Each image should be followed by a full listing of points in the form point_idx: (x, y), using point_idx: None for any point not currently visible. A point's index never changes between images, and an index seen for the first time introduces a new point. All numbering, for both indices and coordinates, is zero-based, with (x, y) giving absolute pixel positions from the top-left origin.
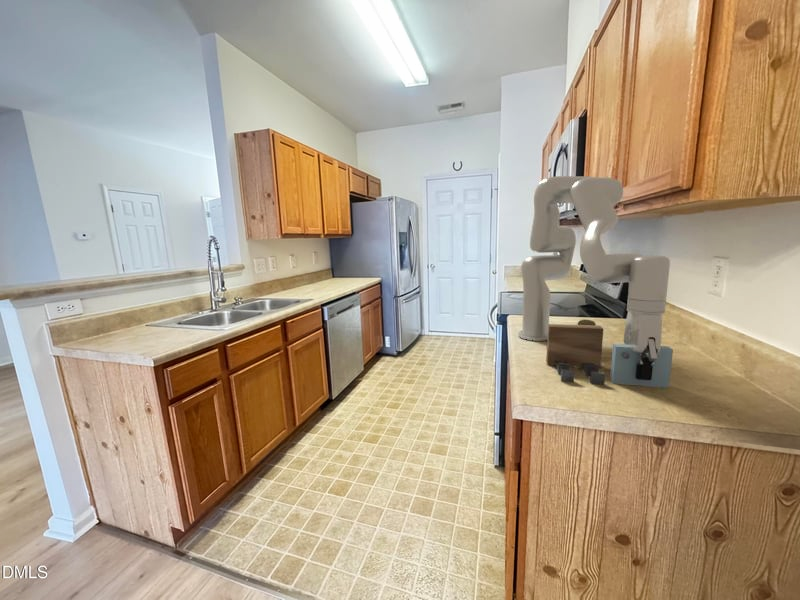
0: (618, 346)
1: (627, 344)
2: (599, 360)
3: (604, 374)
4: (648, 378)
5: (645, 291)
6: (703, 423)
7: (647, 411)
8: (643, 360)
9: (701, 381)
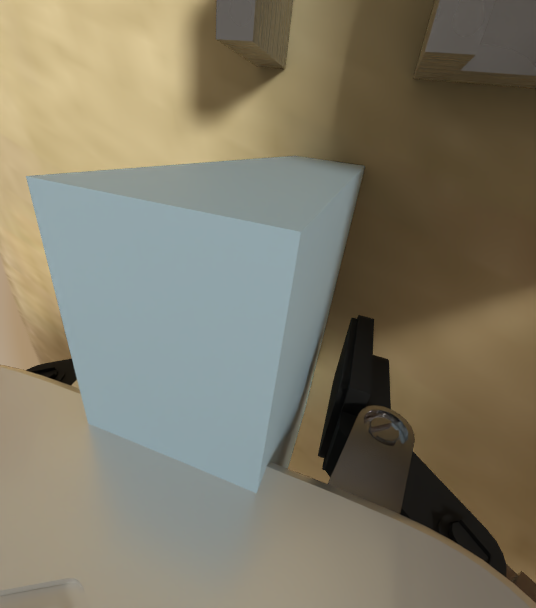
0: (59, 244)
1: (245, 490)
2: None
3: (217, 34)
4: None
5: None
6: (23, 303)
7: (19, 171)
8: None
9: None
